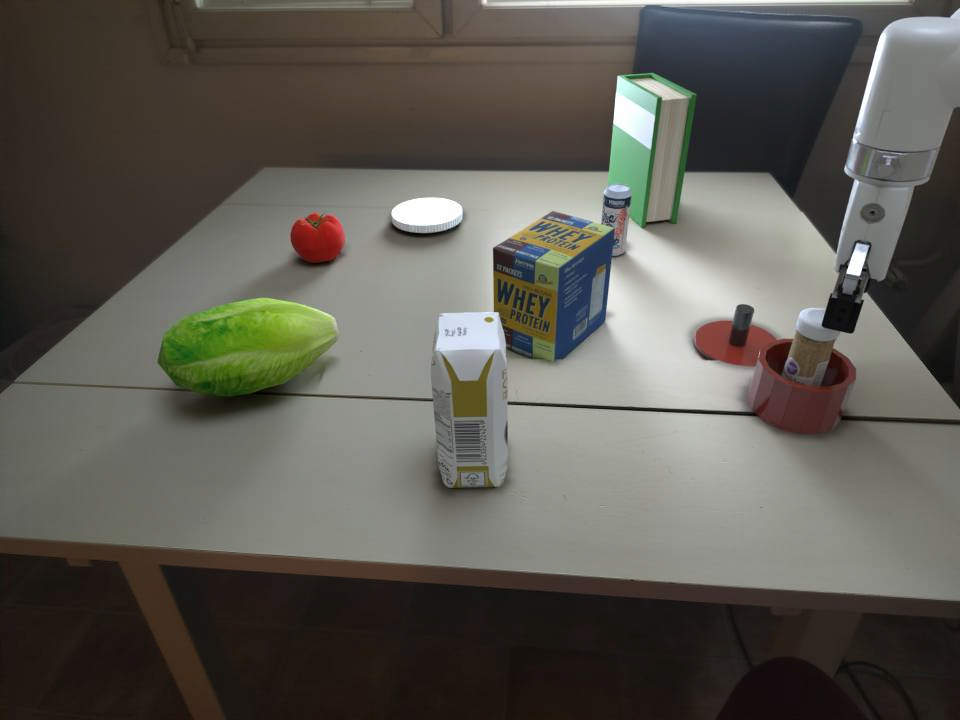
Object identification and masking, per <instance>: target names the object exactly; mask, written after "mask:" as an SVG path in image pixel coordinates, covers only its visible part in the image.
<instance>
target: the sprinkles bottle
mask: <svg viewBox="0 0 960 720" xmlns="http://www.w3.org/2000/svg"><path fill="white" fill-rule="evenodd" d="M825 311H826V308H823V307H809V308H808V307H807V308H805V309H803V310H801V311H800V312H799V315H798V317H797V320H796V323H795V333H794V337H793V338H792V339H793V342H792V345H791V349H790V352H789V356H788V359H787V361H786V363H785V366H784V370H783V373H782V376H781V377H784V378H786V379H788V380H790V381H793V382H795V383H799V384H803V385H808V386H812V387H820V385H821V382H822V380H823V377H824V374H825V371H826V368H827V365H828V362H829V359H830V355H831V352H832V348H834V345H835V343H836V341H837V340H838V338H839V336H840V334H841V332H840V331H836V330H831V329H827V328H823V327H822V321H823V318H824V314H825Z"/></svg>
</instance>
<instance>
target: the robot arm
mask: <svg viewBox="0 0 960 720" xmlns="http://www.w3.org/2000/svg"><path fill="white" fill-rule="evenodd" d="M871 63H872V64H871V67H870V71H869V75H868V78H867V82H866V86H865V90H864V94H863V98H862V102H861V106H860V109H859V113H858V116H857V121H856V125H855V128H854V132H853V136H852V138H851V141H850V146H849V149H848V153H847V157H846V160H845V165H844V169H843V171H844V173H845V175H847V176H849V178H852V179H853V180H854V181H853V184H852V188H851V192H850V195H849V199H848V203H847V206H846V209H845V210H846V211H845V213H844V218H843V222H842V227H841V230H840V235H839V239H838V243H837V244H838V245H837V250H836V255H835V259H834V263H833V264H834V265H833V270H834V272H835V273H836V274H838V276H837V279H836V282H835V285H834V288H833V290H832V292H830V294H829V297H828V299H827V303H826V307H825V309H826V311H825V314H824V318H823V321H822V327H823V328H827V329H831V330H836V331H840V333H845V334H850V335H852V334H854V333H855V331H856V327H857V324H858V321H859V318H860V315H861V312H862V309H863V305H864V302H865V299H863V296H864V294H866V293H867V292H868V290H869V287H870V283H871V281H872V279H873V280H876V282H882V281H883V280H885V279H886V277H887V273H888V270H889V267H890V265H891V261H892V260H893V259H892V258H893V256H894V253H895V250H896V247H897V244H898V240H899V238H900V235H901V232H902V229H903V226H904V224H905V221H906V217H907V214H908V211H909V208H910V204H911V201H912V197H913V194H914V190H915V187H917V186H921V185H923V184H925V183H927V182H929V181H930V179H931V175H932V173H933V169H934V167H935V164H936V161H937V158H938V155H939V152H940V150H941V146H942V143H943V140H944V137H945V134H946V131H947V129H948V126H949V123H950V121H951V117H952V115H953V111H954V109H956V108H960V7H959V8H958V9H956V11H954V13H953V14H952V15H950V17H945V16H913V17H905V18H900V19H897V20H894V21H892V22H890V23H889V24H888V25H887V26H886V27H884V30H882V32H881V33H880V36H879V38H878V42H877V45H876V48H875V52H874V56H873V61H872V62H871Z"/></svg>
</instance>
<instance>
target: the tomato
mask: <svg viewBox="0 0 960 720" xmlns="http://www.w3.org/2000/svg"><path fill="white" fill-rule="evenodd" d="M325 214H326V212H324V213H323V214H321V215H320V214H318V213H317V212H316V211H315V212H312V213H309V214H308V215H307V216H306V217H303V218H304V219H303V218H299V219H297V220H295V222H294V224H293V225H292V227H291V229H290V234H289V236H290V243H291V246H292V249H293V250H294V251H295V252H296V253H297V254H298V255H299V257H300V258H301V259H302V260H304V261H306V262H307V263H311V264H312V263H313V264H318V263H324V262H330V261H332V260H334V259H336V258H337V257H338V256H339V255H340V254H341V252H342V249H344V246H345V244H346V235H345V231H344V228H343V226H342V224H341V221H340V220H339V219H338V218H337V217H336V216H335V215H333V214H326V215H325Z"/></svg>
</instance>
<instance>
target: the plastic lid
mask: <svg viewBox="0 0 960 720" xmlns="http://www.w3.org/2000/svg"><path fill="white" fill-rule="evenodd" d="M390 215H391V223H392V224H393V226H394V227H395V228H397V229H399V230H401V231H404V232H409V233H418V234H427V233H428V234H430V233H431V234H432V233H438V232H443V231H447V230H448V229H449V230H450V229H453V228H454V227H456V226H457V225H459V224H460V223H461V222H462V220H463V208H462V206H461V205H460V204H459V203H458V202H456V201H454V200H451V199H447V198H442V197H419V198H413V199H410V200H406V201H403V202H401V203H399V204H397V205H395V206H394V207H393V208H392V210H391V214H390Z"/></svg>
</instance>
